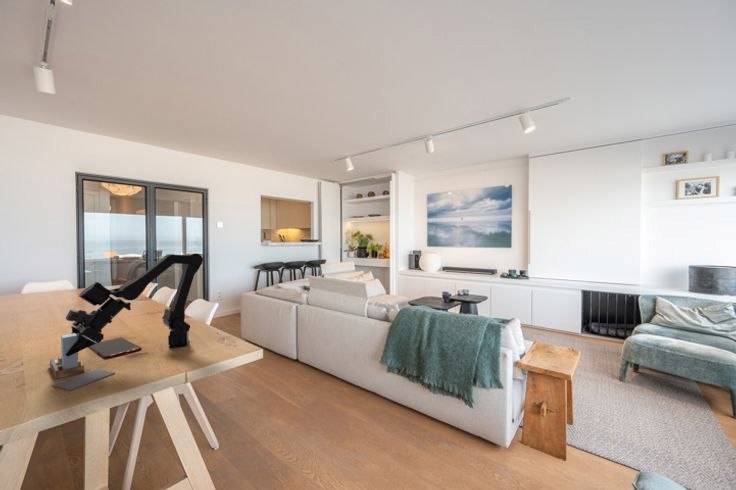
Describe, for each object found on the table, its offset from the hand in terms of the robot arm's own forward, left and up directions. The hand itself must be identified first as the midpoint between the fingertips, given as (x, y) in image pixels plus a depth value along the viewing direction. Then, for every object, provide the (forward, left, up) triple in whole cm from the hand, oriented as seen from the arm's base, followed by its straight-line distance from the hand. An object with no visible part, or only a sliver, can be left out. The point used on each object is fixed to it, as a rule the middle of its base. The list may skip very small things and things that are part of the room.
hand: (64, 352), depth 104 cm
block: (-1, -1, -7) cm, 7 cm away
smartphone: (-5, -24, -8) cm, 25 cm away
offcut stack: (+3, -8, -7) cm, 11 cm away
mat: (-9, +8, -7) cm, 14 cm away
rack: (+1, -4, -7) cm, 8 cm away
